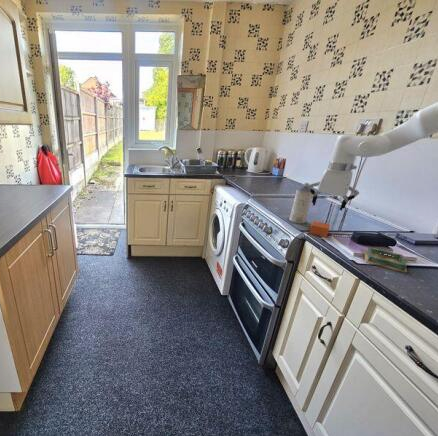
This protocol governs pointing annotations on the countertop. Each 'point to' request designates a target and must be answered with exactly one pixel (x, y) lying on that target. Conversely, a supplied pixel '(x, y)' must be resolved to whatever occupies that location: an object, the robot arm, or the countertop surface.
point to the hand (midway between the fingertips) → (327, 207)
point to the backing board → (385, 259)
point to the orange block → (319, 229)
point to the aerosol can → (301, 204)
